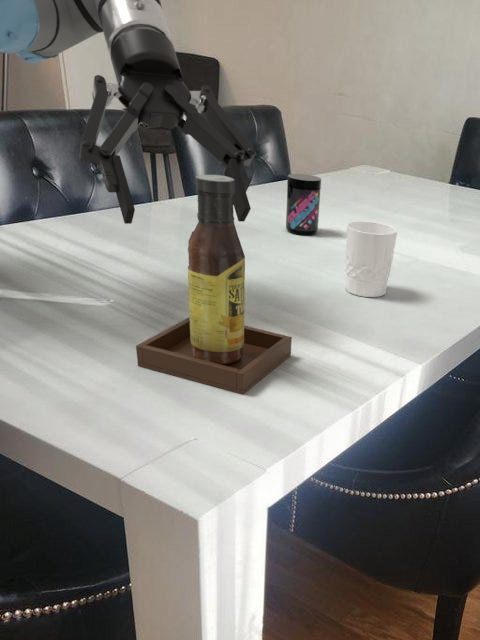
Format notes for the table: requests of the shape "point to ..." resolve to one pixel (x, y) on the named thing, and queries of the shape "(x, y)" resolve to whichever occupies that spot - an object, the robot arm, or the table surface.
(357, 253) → the white cup
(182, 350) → the tray
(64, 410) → the table surface
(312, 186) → the supplement container
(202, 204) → the sauce bottle
